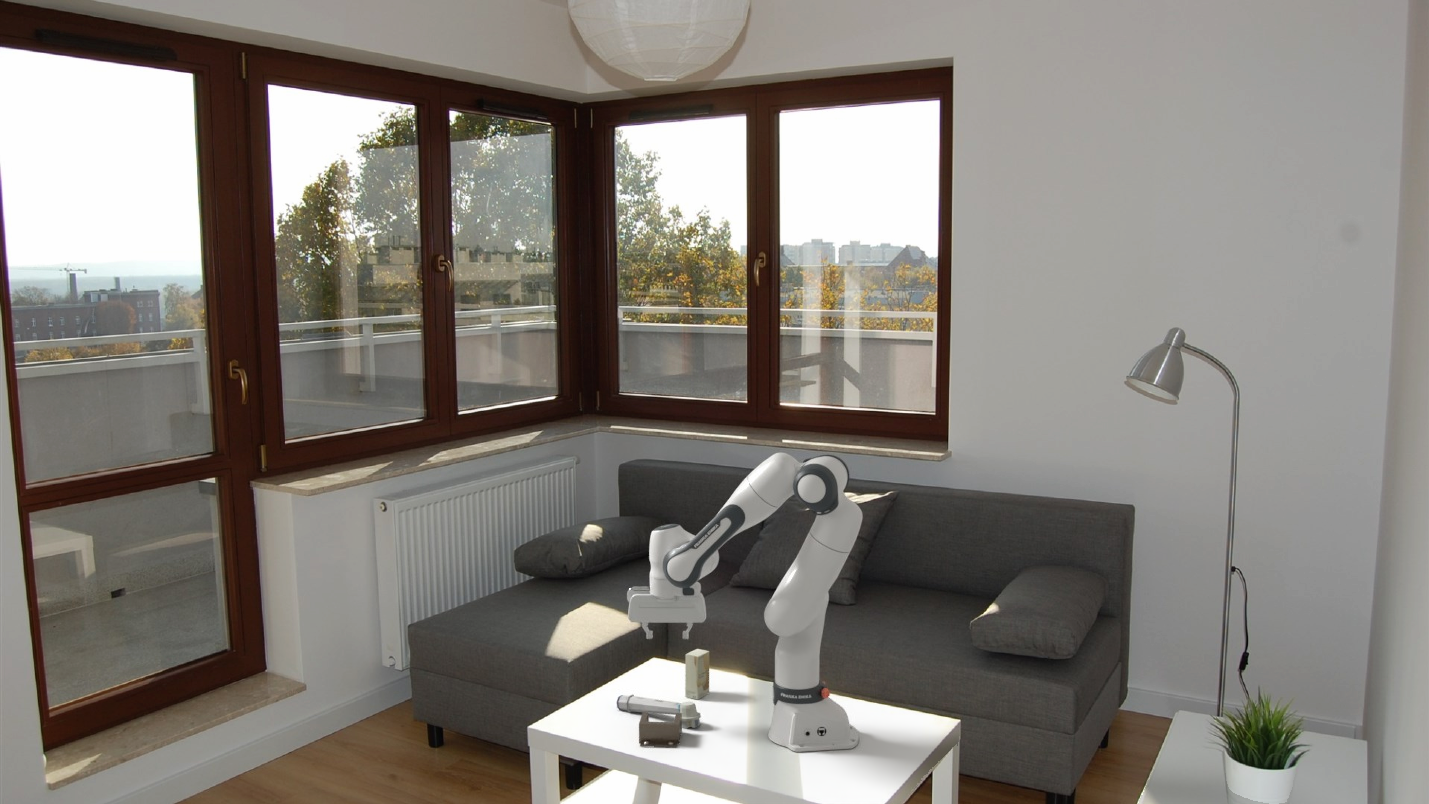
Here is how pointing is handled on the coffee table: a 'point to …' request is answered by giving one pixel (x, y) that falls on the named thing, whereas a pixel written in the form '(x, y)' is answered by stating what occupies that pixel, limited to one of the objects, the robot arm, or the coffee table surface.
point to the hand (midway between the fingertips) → (667, 638)
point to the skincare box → (697, 674)
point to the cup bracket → (660, 732)
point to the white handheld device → (661, 708)
